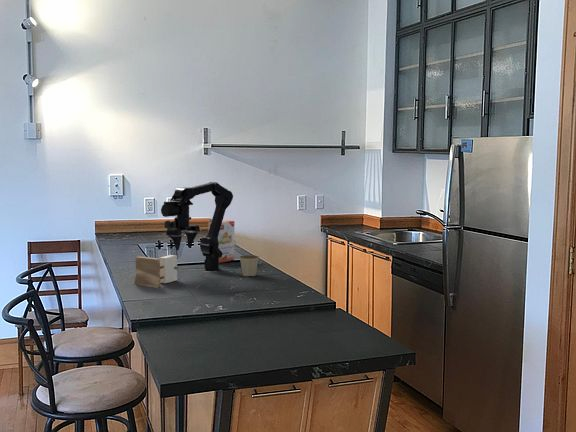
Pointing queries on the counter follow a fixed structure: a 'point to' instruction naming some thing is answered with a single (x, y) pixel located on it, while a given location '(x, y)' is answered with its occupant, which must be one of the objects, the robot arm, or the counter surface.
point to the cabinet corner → (148, 272)
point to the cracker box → (226, 240)
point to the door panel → (168, 268)
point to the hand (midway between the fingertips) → (183, 248)
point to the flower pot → (249, 264)
